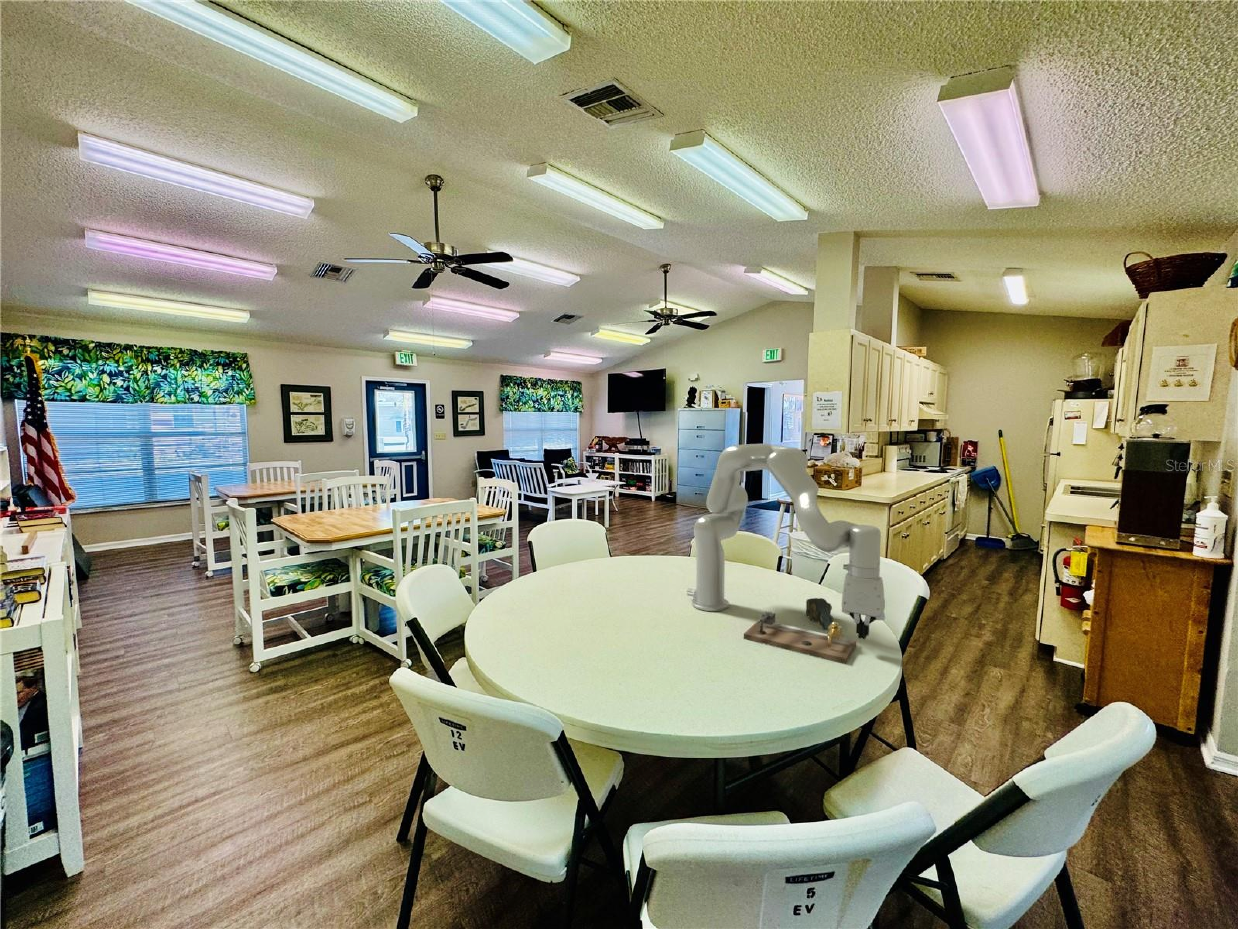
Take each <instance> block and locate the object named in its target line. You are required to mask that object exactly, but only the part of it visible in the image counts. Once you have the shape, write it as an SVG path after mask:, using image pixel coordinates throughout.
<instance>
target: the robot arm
mask: <svg viewBox="0 0 1238 929" xmlns="http://www.w3.org/2000/svg"><path fill="white" fill-rule="evenodd" d="M808 465H809V459H808V457H807V455H806V453H805V452H804V451H803V450H801V449H800V448H797V447H792V446H791V447H790V446H784V445H777V444H770V443H749V444H737V445H732V446H728V447H727V448H726V447H725V449H723V450H722V452H721V453H720V455H719V456H718V460H717V465H716V468H715V472H714V475H713V477H712V481H711V484H710V486H709V491H708V494H707V497H706V503H705V504H706V508H707V510H708V511H709V512H710V513H709V514H705V515H702V516H701V517H699V518H697V520H696V521H695V523H694V525H693V536H694V540H695V548H696V550H695V551H696V559H695V560H696V574H695V575H696V576H695V577H696V585H695V586H696V588H695V589H693V588H690V587H689V588H687V590H686V596H688V597H692V598H693V599H692V601H691V605H692V607H694V608H696V609H698V610H701V611H705V612H706V611H707V612H719V611H723V610H727V609H728V608H729V606H730V602H729V601H728V600H727V599H726V598H725V576H726V575H725V571H726V570H725V565H726V564H725V563H726V562H725V558H726V557H725V551H724V548H723V544H722V542H721V541H724V540H726V539H730V538H732V537H734V536H735V535H736V534H737V532H739V529H740V527H741V523H742V521H743V519H744V515H745V512H746V509H747V507H748V503H749V498H748V497H749V496H748V492H747V491H746V489H745V487H743V486H742V485H740V483H741V478H742V477H741V475H742V474H741V472H751V471H761V470H762V471H763V470H766V471H769V472H770V473H771V475H772V476H773V478H774V479H775V481H776V482H777V483H778V484H779V486H780V487H781V488H782V489H783V491H784V492H785V494H786V495H787V497H788V498H789V499H790V500H791V502H792V504H793V508H794V512H795V517H796V519H797V522H798V524H799V526H800V528H801V530H802V531H803V533H804V534H805V535H806V536H807V538H808V540H810V542H811V543H812V544H813V545H814V546H815V547H816V548H817V549H818V550H820V551H822V552H824V553H832V552H836V551H837V550H841V549H846V548H848V549H849V552H848V553H849V554H848V555H849V558H848V561H849V562H848V564H843V566H842V568H843V570H846V571H847V573H846V574H845V576H844V579H843V585H842V586H843V587H842V595H841V613H843V614H846V615H848V616H850V618H852V619H853V621H854V623H855V633H856V634H857V639H862V640H866V638H867V637H868V636H869V635H870V625H871V624H872V623H873V622H875V621H885V619H886V615H885V612H884V611H885V606H886V605H885V603H886V602H885V600H886V599H885V588H884V582H883V577H881V576H880V574H881V573H880V572H881V570H880V569H881V566H880V565H881V541H882V536H881V533H882V532H881V530H880V528H878V527H877V526H873V525H866V524H858V523H854V522H850V521H846V520H834V521H831V522H829V521H828V520H827V519H826V517H825V516H824V515H823V513H822V512H821V510H820V507H819V506H818V502H817V501H818V499H817V496H818V492H819V488H820V487H819V485H818V484H817V482H816V481H815V480H814V479H813V477H812V476H811V475H810V473H809V472H808V471H807V468H808V467H809V466H808ZM862 616H864V617H865V618H864V620H863V619H862Z"/></svg>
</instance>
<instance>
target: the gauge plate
mask: <svg viewBox="0 0 1238 929" xmlns="http://www.w3.org/2000/svg"><path fill="white" fill-rule="evenodd" d="M743 639H744V640H748V641H752V642H755V643H760V644H763V643H765V644H764V645H767V644H769V645H768V646H771V645H772V647H775V646H776V648H779V647H781V648H780V649H783V648H784V649H783V650H788V651H791V650H792V652H795V651H796V652H795V653H799V652H800V653H799V654H804V655H807V654H809V655H808V656H812V657H815V658H819V657H821V658H820V659H824V660H828V661H832V662H836V663H841V664H844V665H846V664H847V663H848V661H849V659H850V658H851V656H852V654H853V653H854V650H855V649H856V647H857V640H854V639H852V638H846V637H842V636H841V637H840V639H836V638H831V647H828V633H824V632H819V631H814V630H810V629H806V628H805V629H804V628H802V627H796V626H793V625H787V624H783V623H780V622H779V623H778V622H776V613H775V612H770V611H766V610H765V611H764V612H763V613H762V614H761V618H760V619H758V620H757V621H756V622H755V623H754V624H753V625H752V626H750V627H749V628H748V629H747V630H746V631H745V632H744V633H743Z"/></svg>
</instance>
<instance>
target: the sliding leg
mask: <svg viewBox="0 0 1238 929" xmlns="http://www.w3.org/2000/svg"><path fill="white" fill-rule="evenodd" d="M827 634H828V647H831V638H836V639H840V637H842V634H843V627H842V626H841V625H839V622H837V621H833V622H832V624H830V626H829V627H828V631H827Z"/></svg>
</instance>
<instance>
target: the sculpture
mask: <svg viewBox="0 0 1238 929" xmlns="http://www.w3.org/2000/svg"><path fill="white" fill-rule="evenodd" d="M805 604H806V605H805V606H806V608H805V615H806V616H807V617H808V616H809V617H808V619H809V620H811V621H812V620H814V622H817V623H818V624H820V626H821V627H822V628H823V631H826V630H828V627H829V626H830V624H832V622H835V621H834V620H835V619H834V616H833V615H831V612H832V609H833V606H832V603H830V602H828V601H827V600H826V599H824V598H821V597H819V598H818V597H817V598H816V597H814V598H809V599H808V598H807V600H806V602H805Z"/></svg>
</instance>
